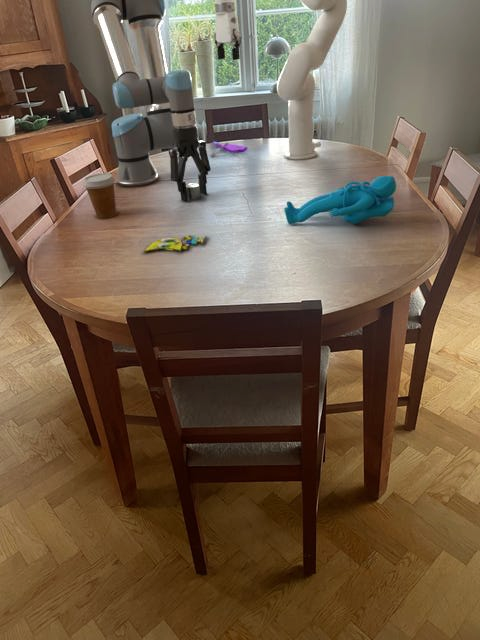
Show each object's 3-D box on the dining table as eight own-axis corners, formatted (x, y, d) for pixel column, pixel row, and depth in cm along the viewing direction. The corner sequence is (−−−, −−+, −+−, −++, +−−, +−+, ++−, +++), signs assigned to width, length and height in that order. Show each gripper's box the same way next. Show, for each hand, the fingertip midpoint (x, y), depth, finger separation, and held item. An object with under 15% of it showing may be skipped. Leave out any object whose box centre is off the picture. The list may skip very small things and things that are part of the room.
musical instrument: (232, 160, 201) (256, 142, 213) (231, 155, 200) (255, 138, 212) (188, 160, 214) (213, 143, 226) (187, 155, 213) (212, 139, 225)
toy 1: (199, 248, 125) (143, 249, 127) (199, 251, 125) (144, 252, 127) (206, 233, 133) (154, 234, 135) (206, 236, 133) (154, 237, 136)
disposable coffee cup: (85, 218, 153) (75, 181, 146) (103, 208, 160) (94, 172, 154) (110, 221, 150) (101, 182, 143) (127, 210, 157) (119, 173, 150)
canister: (184, 199, 162) (182, 186, 160) (194, 194, 165) (192, 182, 163) (194, 201, 160) (192, 188, 157) (204, 196, 163) (202, 183, 160)
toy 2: (287, 190, 142) (392, 164, 132) (296, 223, 147) (398, 200, 137) (279, 211, 128) (396, 183, 118) (290, 247, 133) (402, 223, 123)
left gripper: (165, 134, 142) (177, 208, 154) (217, 120, 153) (224, 190, 166) (151, 131, 147) (163, 203, 159) (202, 118, 158) (209, 187, 170)
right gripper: (246, 7, 180) (249, 58, 189) (219, 9, 192) (223, 57, 201) (230, 8, 176) (234, 61, 186) (204, 10, 188) (209, 60, 197)
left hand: (194, 197), depth 162 cm, fingers open, 8 cm apart
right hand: (228, 59), depth 193 cm, fingers open, 9 cm apart
